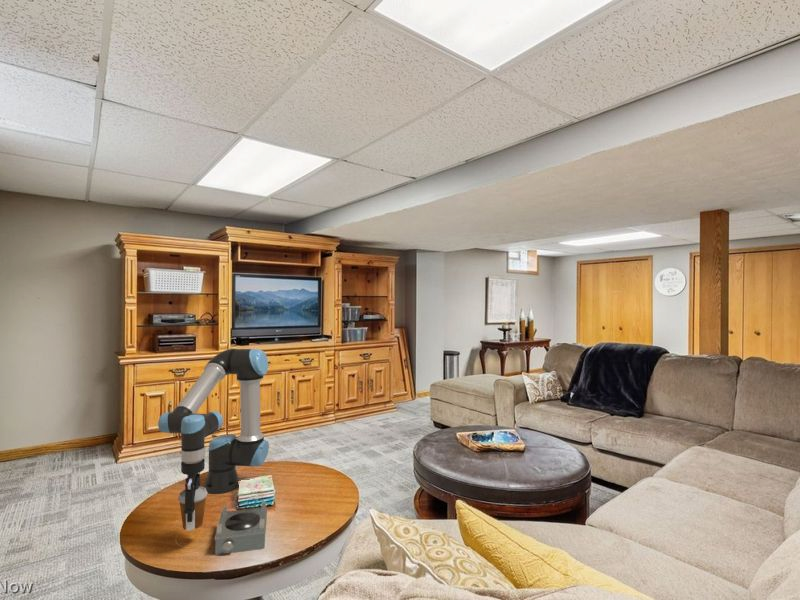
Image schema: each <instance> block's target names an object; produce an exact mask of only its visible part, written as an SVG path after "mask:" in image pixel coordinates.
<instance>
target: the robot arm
mask: <svg viewBox="0 0 800 600" xmlns="http://www.w3.org/2000/svg"><path fill="white" fill-rule="evenodd" d="M268 368H269V361H268V357H267V354H266V353H265V351H264V350H262V349H255V348H230V349H226V350H225V349H224V350H223V351H221V352H219V353H218V354H216V355H215V356H213V357H212V358H210V360H209V361H208V362H207V363H206V364H205V366H204V368H203V370H204V371H203V372H202V373H201V374H200V375H199V377H198V378H197V379H196V381H195V383H194V384H193V385H192V386H191V388H189V389H188V392H186V393H185V395H184V396H183V398H182V399H181V400H180V401H179V403H177V405H176V407H175V408H174V409H173V410H172V411H171V412H170V411H168V412H164V413H162V414H161V415H160V417H159V419H158V422H157V427H158V429H159V431H160V433H166V434H180V440H181V442H180V443H181V447H180V448H181V450H180V451H179V453H178V454H179V455H181V456H180V457H181V458H180V460H181V463H180V472H181V474H183V475H186V477H185V484H184V487H185V488H184V490H185V511H183V513H185V514H186V530H185V531H186V532H187V531H195V510H194V497H195V491H196V490H197V489H198V488H199V487H201V473H202V472H203V471H204V470H205V466H206V465H205V462H206V461H205V457H206V455H205V454H206V452H205V451H206V448H205V447H206V446H205V438H206V437H208V436H210V435H212V434H213V433H216V432H217V431H218V430H219V429H221V427H222V426H223V424H224V417H223V416H222V414H221V413H220V412H218V411H215V410H213V411H209V412H207V413H197V412H198V411H199V409H200V408H201V406H203V404H204V403H205V401H206V399H207V398H208V397H209V395H210V394H211V393H212V391H213V390H214V389H215V387H216V386H217V384H218V383H219V381H221V380H223V379H224V378H225V377H226V376H228V375H236V380H237V381H238V382H239V384H240V386H239V387H240V390H239V391H240V392H239V393H240V394H239V395H240V434H239V435H238V436H237V435H236V434H234V433H233V434H231V433H229V434H223V435H222V434H221V435H220V436H219V435H218V436H216V437H214V438H212V439H211V440H210V441H209V445H208V473H207V475H206V478H205V482H204V485H203V487H204V488H205V489H206V491H207V492H208V494H215V495H216V494H224V493H229V492H231V491H234V490H235V489H237V488H238V487H239V486H238V481H239V482H240V478H239V474H238V472H237V469H236V466H238V467H250V468H251V467H261V466H262V465H263V464H264V462H265V461H266V458H267V456H268V453H269V449H270V447H269V446H270V443H269V441H268V440H267V439H265V434H264V433H263V432H262V431H261V381H262V380H263V379H264V375H266V374H267V373H268ZM237 486H238V487H237Z"/></svg>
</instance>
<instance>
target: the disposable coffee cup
mask: <svg viewBox="0 0 800 600" xmlns="http://www.w3.org/2000/svg"><path fill="white" fill-rule="evenodd" d="M208 494H209V493H208V492H207V491H206V489H205V488H204V486H200V487H199V488H198V489H197V490H196V491H195V497H194V510H195V529H199V528H200V527H202V526H203V523H204V522H203V521H204V517H205V516H204V515H205V509H206V507H205V506H206V502H207V501H206V500H207V496H208ZM177 500H178V502H179V506H180V515H181V522H182V523H181V524H182V528H183V530H185V531H186V514H185V513H183V511H185V489H183V490H182V491H180V492H179V494H178V497H177Z"/></svg>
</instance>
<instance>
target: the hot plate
mask: <svg viewBox="0 0 800 600" xmlns="http://www.w3.org/2000/svg"><path fill="white" fill-rule="evenodd" d="M266 504H267V503H266V501H261V507H256V508H254V507H253V508H248V509H246V508H244V509H237V510H229V511H228V505H223V506H222V507H221V508H222V511H221V514H220V518H219V520H218V523H217V525H216V532H215V534H214V540H215V541H214V542H215V547H214V548H215V551H214V552H215V556H218V555H219V556H220V555H225V554H232V553H233V554H234V553H242V552H247V551H255V550H262V549H265V547H266V532H267V531H266V530H267V519H268V518H267V516H268V507H267V505H266Z"/></svg>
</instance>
